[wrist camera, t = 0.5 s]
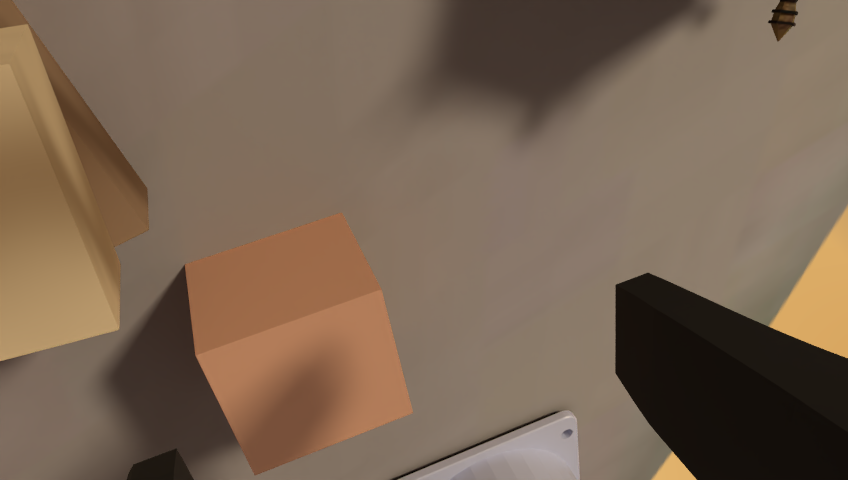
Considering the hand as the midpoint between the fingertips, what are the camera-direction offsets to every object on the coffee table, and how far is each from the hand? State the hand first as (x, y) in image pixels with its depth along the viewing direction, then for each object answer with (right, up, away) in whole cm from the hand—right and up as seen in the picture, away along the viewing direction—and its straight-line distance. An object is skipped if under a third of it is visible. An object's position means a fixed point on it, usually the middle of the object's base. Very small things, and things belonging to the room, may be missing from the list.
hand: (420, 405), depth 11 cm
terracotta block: (-4, +1, +10) cm, 11 cm away
